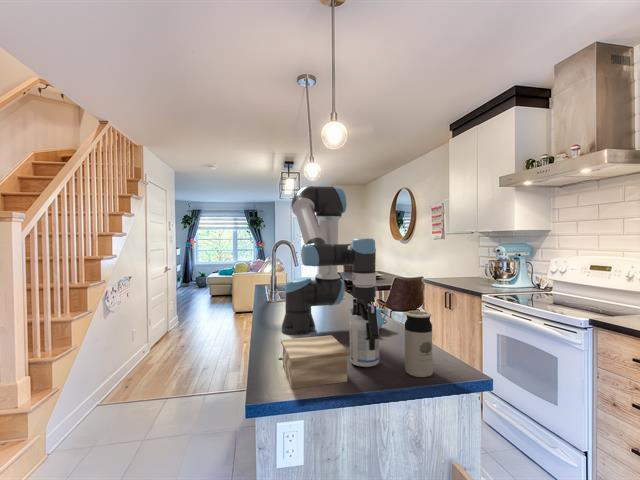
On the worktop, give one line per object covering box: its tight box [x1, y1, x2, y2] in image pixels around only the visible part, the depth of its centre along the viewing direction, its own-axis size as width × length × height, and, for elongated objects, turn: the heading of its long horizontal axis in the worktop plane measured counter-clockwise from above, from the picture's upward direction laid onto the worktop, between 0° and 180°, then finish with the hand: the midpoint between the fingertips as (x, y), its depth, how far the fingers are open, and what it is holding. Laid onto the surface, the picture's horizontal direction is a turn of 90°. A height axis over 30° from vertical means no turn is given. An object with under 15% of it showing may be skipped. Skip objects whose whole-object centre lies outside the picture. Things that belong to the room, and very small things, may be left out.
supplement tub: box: [348, 315, 380, 368], centre depth 105 cm, size 10×10×15 cm
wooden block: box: [280, 335, 350, 389], centre depth 97 cm, size 17×17×8 cm
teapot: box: [349, 306, 388, 330], centre depth 146 cm, size 15×14×11 cm
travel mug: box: [404, 310, 434, 378], centre depth 98 cm, size 8×8×18 cm
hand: (364, 354), depth 105 cm, fingers closed on supplement tub, 10 cm apart
